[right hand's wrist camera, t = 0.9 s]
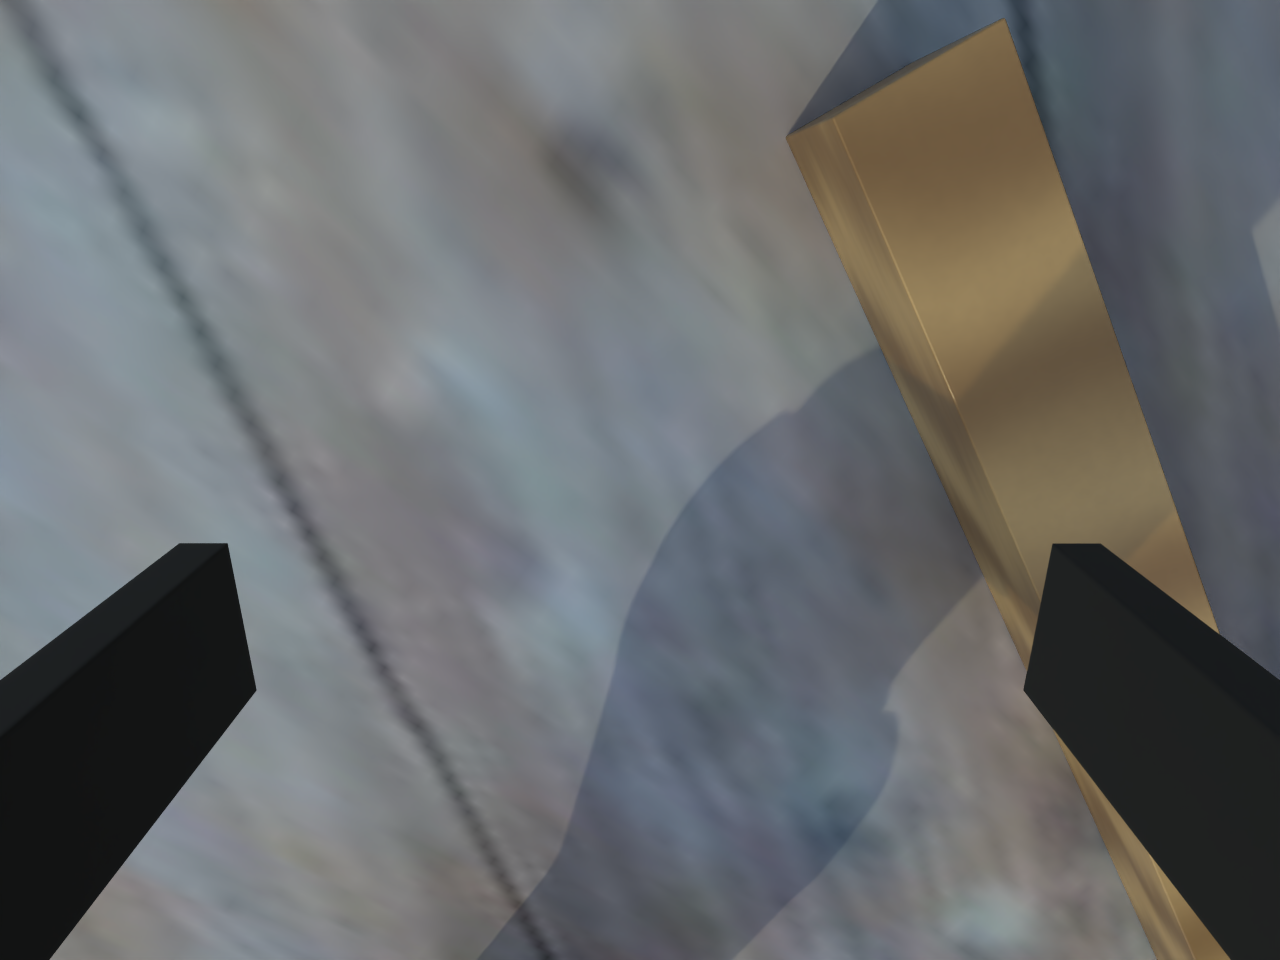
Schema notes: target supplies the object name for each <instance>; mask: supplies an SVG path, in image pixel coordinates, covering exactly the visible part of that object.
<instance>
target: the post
mask: <svg viewBox="0 0 1280 960" xmlns="http://www.w3.org/2000/svg"><path fill="white" fill-rule="evenodd" d="M786 139H787V142H788V144H789V146H790V148H791V151H792V153H793V155H794V157H795V159H796V162H797V164H798V166H799V168H800V170H801V173H802V175H803V177H804V179H805V182H806V184H807V186H808V188H809V190H810V193H811V195H812V197H813V199H814V201H815V204H816V206H817V208H818V210H819V212H820V215H821V217H822V219H823V221H824V224H825V226H826V228H827V230H828V232H829V235H830V237H831V239H832V241H833V243H834V246H835V248H836V250H837V252H838V255H839V257H840V259H841V261H842V263H843V266H844V268H845V270H846V272H847V274H848V277H849V279H850V281H851V283H852V285H853V288H854V290H855V292H856V294H857V297H858V299H859V301H860V303H861V305H862V308H863V310H864V312H865V314H866V316H867V319H868V321H869V323H870V325H871V328H872V330H873V332H874V334H875V336H876V339H877V341H878V343H879V345H880V347H881V350H882V352H883V354H884V356H885V358H886V361H887V363H888V365H889V367H890V370H891V372H892V374H893V376H894V378H895V381H896V383H897V385H898V387H899V389H900V392H901V394H902V396H903V398H904V401H905V403H906V405H907V407H908V409H909V412H910V414H911V416H912V418H913V420H914V423H915V425H916V427H917V429H918V431H919V434H920V436H921V438H922V440H923V443H924V445H925V447H926V449H927V451H928V454H929V456H930V458H931V460H932V462H933V465H934V467H935V469H936V471H937V474H938V476H939V478H940V480H941V482H942V485H943V487H944V489H945V491H946V493H947V496H948V498H949V500H950V502H951V504H952V507H953V509H954V511H955V513H956V516H957V518H958V520H959V522H960V524H961V527H962V529H963V531H964V533H965V535H966V538H967V540H968V542H969V544H970V547H971V549H972V551H973V553H974V555H975V558H976V560H977V562H978V564H979V566H980V569H981V571H982V573H983V575H984V577H985V580H986V582H987V584H988V586H989V589H990V591H991V593H992V595H993V597H994V600H995V602H996V604H997V606H998V608H999V611H1000V613H1001V615H1002V617H1003V620H1004V622H1005V624H1006V626H1007V628H1008V631H1009V633H1010V635H1011V637H1012V639H1013V642H1014V644H1015V646H1016V648H1017V650H1018V653H1019V655H1020V657H1021V659H1022V662H1023V664H1024V666H1025V668H1026V670H1028V665H1029V660H1030V655H1031V650H1032V645H1033V639H1034V634H1035V629H1036V624H1037V619H1038V614H1039V609H1040V604H1041V599H1042V594H1043V589H1044V584H1045V579H1046V574H1047V568H1048V563H1049V558H1050V553H1051V548H1052V543H1101V544H1102V545H1103V546H1105V547H1106V548H1107V549H1109V550H1110V551H1111V552H1112V553H1114V554H1115V555H1116V556H1118V557H1119V558H1120V559H1122V560H1123V561H1124V562H1126V563H1127V564H1128V565H1129V566H1131V567H1132V568H1133V569H1135V570H1136V571H1137V572H1139V573H1140V574H1141V575H1143V576H1144V577H1145V578H1146V579H1148V580H1149V581H1150V582H1152V583H1153V584H1154V585H1156V586H1157V587H1158V588H1160V589H1161V590H1162V591H1164V592H1165V593H1166V594H1167V595H1169V596H1170V597H1171V598H1173V599H1174V600H1175V601H1177V602H1178V603H1179V604H1181V605H1182V606H1183V607H1184V608H1186V609H1187V610H1188V611H1190V612H1191V613H1192V614H1194V615H1195V616H1196V617H1198V618H1199V619H1200V620H1201V621H1203V622H1204V623H1205V624H1207V625H1208V626H1209V627H1211V628H1212V629H1213V630H1215V631H1216V632H1217V633H1218V634H1220V633H1219V630H1218V627H1217V624H1216V621H1215V619H1214V616H1213V613H1212V610H1211V607H1210V604H1209V601H1208V599H1207V596H1206V593H1205V590H1204V587H1203V584H1202V581H1201V578H1200V576H1199V573H1198V570H1197V567H1196V564H1195V561H1194V558H1193V555H1192V553H1191V550H1190V547H1189V544H1188V541H1187V538H1186V535H1185V533H1184V530H1183V527H1182V524H1181V521H1180V518H1179V515H1178V512H1177V510H1176V507H1175V504H1174V501H1173V498H1172V495H1171V492H1170V490H1169V487H1168V484H1167V481H1166V478H1165V475H1164V472H1163V469H1162V467H1161V464H1160V461H1159V458H1158V455H1157V452H1156V449H1155V446H1154V444H1153V441H1152V438H1151V435H1150V432H1149V429H1148V426H1147V424H1146V421H1145V418H1144V415H1143V412H1142V409H1141V406H1140V403H1139V401H1138V398H1137V395H1136V392H1135V389H1134V386H1133V383H1132V381H1131V378H1130V375H1129V372H1128V369H1127V366H1126V363H1125V360H1124V358H1123V355H1122V352H1121V349H1120V346H1119V343H1118V340H1117V338H1116V335H1115V332H1114V329H1113V326H1112V323H1111V320H1110V317H1109V315H1108V312H1107V309H1106V306H1105V303H1104V300H1103V297H1102V294H1101V292H1100V289H1099V286H1098V283H1097V280H1096V277H1095V274H1094V272H1093V269H1092V266H1091V263H1090V260H1089V257H1088V254H1087V251H1086V249H1085V246H1084V243H1083V240H1082V237H1081V234H1080V231H1079V229H1078V226H1077V223H1076V220H1075V217H1074V214H1073V211H1072V208H1071V206H1070V203H1069V200H1068V197H1067V194H1066V191H1065V188H1064V186H1063V183H1062V180H1061V177H1060V174H1059V171H1058V168H1057V165H1056V163H1055V160H1054V157H1053V154H1052V151H1051V148H1050V145H1049V142H1048V140H1047V137H1046V134H1045V131H1044V128H1043V125H1042V122H1041V120H1040V117H1039V114H1038V111H1037V108H1036V105H1035V102H1034V99H1033V97H1032V94H1031V91H1030V88H1029V85H1028V82H1027V79H1026V77H1025V74H1024V71H1023V68H1022V65H1021V62H1020V59H1019V56H1018V54H1017V51H1016V48H1015V45H1014V42H1013V39H1012V36H1011V33H1010V31H1009V28H1008V25H1007V22H1006V20H1005V18H1003V19H1000V20H998V21H996V22H994V23H992V24H990V25H988V26H986V27H984V28H982V29H980V30H978V31H976V32H974V33H972V34H969V35H967V36H965V37H963V38H961V39H959V40H957V41H955V42H953V43H951V44H949V45H947V46H945V47H943V48H941V49H939V50H937V51H935V52H933V53H931V54H929V55H927V56H925V57H922V58H920V59H918V60H916V61H914V62H912V63H911V64H909V65H907V66H906V67H904V68H902V69H900V70H899V71H897V72H895V73H894V74H892V75H890V76H888V77H887V78H885V79H883V80H882V81H880V82H878V83H876V84H875V85H873V86H871V87H870V88H868V89H866V90H864V91H863V92H861V93H859V94H858V95H856V96H854V97H852V98H851V99H849V100H847V101H846V102H844V103H842V104H840V105H839V106H837V107H835V108H834V109H832V110H830V111H828V112H827V113H825V114H823V115H822V116H820V117H818V118H816V119H815V120H813V121H811V122H810V123H808V124H806V125H805V126H803V127H801V128H799V129H798V130H796V131H794V132H793V133H791V134H789V135H787V136H786ZM1053 730H1054V729H1053ZM1054 732H1055V731H1054ZM1055 735H1056V737H1057V739H1058V741H1059V743H1060V746H1061V748H1062V750H1063V752H1064V754H1065V757H1066V759H1067V761H1068V763H1069V766H1070V768H1071V770H1072V772H1073V774H1074V777H1075V779H1076V781H1077V783H1078V785H1079V788H1080V790H1081V792H1082V794H1083V796H1084V799H1085V801H1086V803H1087V805H1088V808H1089V810H1090V812H1091V814H1092V816H1093V819H1094V821H1095V823H1096V825H1097V827H1098V830H1099V832H1100V834H1101V836H1102V839H1103V841H1104V843H1105V845H1106V847H1107V850H1108V852H1109V854H1110V856H1111V858H1112V861H1113V863H1114V865H1115V867H1116V870H1117V872H1118V874H1119V876H1120V878H1121V881H1122V883H1123V885H1124V887H1125V889H1126V892H1127V894H1128V896H1129V898H1130V900H1131V903H1132V905H1133V907H1134V909H1135V912H1136V914H1137V916H1138V918H1139V920H1140V923H1141V925H1142V927H1143V929H1144V931H1145V934H1146V936H1147V938H1148V940H1149V943H1150V945H1151V947H1152V949H1153V951H1154V954H1155V956H1156V958H1157V960H1230V958H1229V957H1228V956H1227V954H1226V953H1225V952H1224V950H1223V949H1222V948H1221V947H1220V945H1219V944H1218V943H1217V941H1216V940H1215V939H1214V937H1213V936H1212V935H1211V934H1210V932H1209V931H1208V930H1207V928H1206V927H1205V926H1204V924H1203V923H1202V922H1201V921H1200V919H1199V918H1198V917H1197V915H1196V914H1195V913H1194V911H1193V910H1192V909H1191V908H1190V906H1189V905H1188V904H1187V902H1186V901H1185V900H1184V898H1183V897H1182V896H1181V894H1180V893H1179V892H1178V891H1177V889H1176V888H1175V887H1174V885H1173V884H1172V883H1171V881H1170V880H1169V879H1168V878H1167V876H1166V875H1165V874H1164V872H1163V871H1162V870H1161V868H1160V867H1159V866H1158V865H1157V863H1156V862H1155V861H1154V859H1153V858H1152V857H1151V855H1150V854H1149V853H1148V852H1147V850H1146V849H1145V848H1144V846H1143V845H1142V844H1141V842H1140V841H1139V840H1138V839H1137V837H1136V836H1135V835H1134V833H1133V832H1132V831H1131V829H1130V828H1129V827H1128V826H1127V824H1126V823H1125V822H1124V820H1123V819H1122V818H1121V816H1120V815H1119V814H1118V813H1117V811H1116V810H1115V809H1114V807H1113V806H1112V805H1111V803H1110V802H1109V801H1108V800H1107V798H1106V797H1105V796H1104V794H1103V793H1102V792H1101V790H1100V789H1099V788H1098V787H1097V785H1096V784H1095V783H1094V781H1093V780H1092V779H1091V777H1090V776H1089V775H1088V774H1087V772H1086V771H1085V770H1084V768H1083V767H1082V766H1081V764H1080V763H1079V762H1078V761H1077V759H1076V758H1075V757H1074V755H1073V754H1072V753H1071V751H1070V750H1069V749H1068V748H1067V746H1066V745H1065V744H1064V742H1063V741H1062V740H1061V738H1060V737H1059V736H1058V735H1057V733H1056V732H1055Z"/></svg>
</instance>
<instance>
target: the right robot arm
mask: <svg viewBox="0 0 1280 960" xmlns="http://www.w3.org/2000/svg"><path fill="white" fill-rule="evenodd" d="M255 692H256V685H255V680H254V675H253V670H252V665H251V660H250V655H249V650H248V645H247V639H246V634H245V629H244V624H243V619H242V614H241V609H240V604H239V599H238V594H237V589H236V584H235V579H234V574H233V568H232V563H231V558H230V553H229V548H228V543H179V544H178V545H177V546H175V547H174V548H173V549H171V550H170V551H169V552H168V553H166V554H165V555H164V556H162V557H161V558H160V559H158V560H157V561H156V562H154V563H153V564H152V565H151V566H149V567H148V568H147V569H145V570H144V571H143V572H141V573H140V574H139V575H137V576H136V577H135V578H134V579H132V580H131V581H130V582H128V583H127V584H126V585H124V586H123V587H122V588H120V589H119V590H118V591H116V592H115V593H114V594H113V595H111V596H110V597H109V598H107V599H106V600H105V601H103V602H102V603H101V604H99V605H98V606H97V607H96V608H94V609H93V610H92V611H90V612H89V613H88V614H86V615H85V616H84V617H82V618H81V619H80V620H79V621H77V622H76V623H75V624H73V625H72V626H71V627H69V628H68V629H67V630H65V631H64V632H63V633H62V634H60V635H59V636H58V637H56V638H55V639H54V640H52V641H51V642H50V643H48V644H47V645H46V646H45V647H43V648H42V649H41V650H39V651H38V652H37V653H35V654H34V655H33V656H31V657H30V658H29V659H28V660H26V661H25V662H24V663H22V664H21V665H20V666H18V667H17V668H16V669H14V670H13V671H12V672H10V673H9V674H8V675H7V676H5V677H4V678H3V679H1V680H0V960H50V958H51V957H52V956H53V954H54V953H55V952H56V950H57V949H58V948H59V947H60V945H61V944H62V943H63V941H64V940H65V939H66V937H67V936H68V935H69V934H70V932H71V931H72V930H73V928H74V927H75V926H76V924H77V923H78V922H79V921H80V919H81V918H82V917H83V915H84V914H85V913H86V911H87V910H88V909H89V908H90V906H91V905H92V904H93V902H94V901H95V900H96V898H97V897H98V896H99V894H100V893H101V892H102V891H103V889H104V888H105V887H106V885H107V884H108V883H109V881H110V880H111V879H112V878H113V876H114V875H115V874H116V872H117V871H118V870H119V868H120V867H121V866H122V865H123V863H124V862H125V861H126V859H127V858H128V857H129V855H130V854H131V853H132V852H133V850H134V849H135V848H136V846H137V845H138V844H139V842H140V841H141V840H142V839H143V837H144V836H145V835H146V833H147V832H148V831H149V829H150V828H151V827H152V826H153V824H154V823H155V822H156V820H157V819H158V818H159V816H160V815H161V814H162V813H163V811H164V810H165V809H166V807H167V806H168V805H169V803H170V802H171V801H172V800H173V798H174V797H175V796H176V794H177V793H178V792H179V790H180V789H181V788H182V787H183V785H184V784H185V783H186V781H187V780H188V779H189V777H190V776H191V775H192V774H193V772H194V771H195V770H196V768H197V767H198V766H199V764H200V763H201V762H202V761H203V759H204V758H205V757H206V755H207V754H208V753H209V751H210V750H211V749H212V748H213V746H214V745H215V744H216V742H217V741H218V740H219V738H220V737H221V736H222V735H223V733H224V732H225V731H226V729H227V728H228V727H229V725H230V724H231V723H232V721H233V720H234V719H235V718H236V716H237V715H238V714H239V712H240V711H241V710H242V708H243V707H244V706H245V705H246V703H247V702H248V701H249V699H250V698H251V697H252V695H253V694H254V693H255ZM1024 692H1025V693H1026V694H1027V695H1028V697H1029V698H1030V699H1031V701H1032V702H1033V703H1034V705H1035V706H1036V707H1037V708H1038V710H1039V711H1040V712H1041V714H1042V715H1043V716H1044V718H1045V719H1046V720H1047V722H1048V723H1049V724H1050V725H1051V727H1052V728H1053V729H1054V731H1055V732H1056V733H1057V735H1058V736H1059V737H1060V738H1061V740H1062V741H1063V742H1064V744H1065V745H1066V746H1067V748H1068V749H1069V750H1070V751H1071V753H1072V754H1073V755H1074V757H1075V758H1076V759H1077V761H1078V762H1079V763H1080V764H1081V766H1082V767H1083V768H1084V770H1085V771H1086V772H1087V774H1088V775H1089V776H1090V777H1091V779H1092V780H1093V781H1094V783H1095V784H1096V785H1097V787H1098V788H1099V789H1100V790H1101V792H1102V793H1103V794H1104V796H1105V797H1106V798H1107V800H1108V801H1109V802H1110V803H1111V805H1112V806H1113V807H1114V809H1115V810H1116V811H1117V813H1118V814H1119V815H1120V816H1121V818H1122V819H1123V820H1124V822H1125V823H1126V824H1127V826H1128V827H1129V828H1130V829H1131V831H1132V832H1133V833H1134V835H1135V836H1136V837H1137V839H1138V840H1139V841H1140V842H1141V844H1142V845H1143V846H1144V848H1145V849H1146V850H1147V852H1148V853H1149V854H1150V855H1151V857H1152V858H1153V859H1154V861H1155V862H1156V863H1157V865H1158V866H1159V867H1160V868H1161V870H1162V871H1163V872H1164V874H1165V875H1166V876H1167V878H1168V879H1169V880H1170V881H1171V883H1172V884H1173V885H1174V887H1175V888H1176V889H1177V891H1178V892H1179V893H1180V894H1181V896H1182V897H1183V898H1184V900H1185V901H1186V902H1187V904H1188V905H1189V906H1190V908H1191V909H1192V910H1193V911H1194V913H1195V914H1196V915H1197V917H1198V918H1199V919H1200V921H1201V922H1202V923H1203V924H1204V926H1205V927H1206V928H1207V930H1208V931H1209V932H1210V934H1211V935H1212V936H1213V937H1214V939H1215V940H1216V941H1217V943H1218V944H1219V945H1220V947H1221V948H1222V949H1223V950H1224V952H1225V953H1226V954H1227V956H1228V957H1229V958H1230V960H1280V680H1279V679H1277V678H1276V677H1275V676H1273V675H1272V674H1271V673H1270V672H1268V671H1267V670H1266V669H1264V668H1263V667H1262V666H1260V665H1259V664H1258V663H1256V662H1255V661H1254V660H1252V659H1251V658H1250V657H1249V656H1247V655H1246V654H1245V653H1243V652H1242V651H1241V650H1239V649H1238V648H1237V647H1235V646H1234V645H1233V644H1232V643H1230V642H1229V641H1228V640H1226V639H1225V638H1224V637H1222V636H1221V635H1220V634H1218V633H1217V632H1216V631H1215V630H1213V629H1212V628H1211V627H1209V626H1208V625H1207V624H1205V623H1204V622H1203V621H1201V620H1200V619H1199V618H1198V617H1196V616H1195V615H1194V614H1192V613H1191V612H1190V611H1188V610H1187V609H1186V608H1184V607H1183V606H1182V605H1181V604H1179V603H1178V602H1177V601H1175V600H1174V599H1173V598H1171V597H1170V596H1169V595H1167V594H1166V593H1165V592H1164V591H1162V590H1161V589H1160V588H1158V587H1157V586H1156V585H1154V584H1153V583H1152V582H1150V581H1149V580H1148V579H1146V578H1145V577H1144V576H1143V575H1141V574H1140V573H1139V572H1137V571H1136V570H1135V569H1133V568H1132V567H1131V566H1129V565H1128V564H1127V563H1126V562H1124V561H1123V560H1122V559H1120V558H1119V557H1118V556H1116V555H1115V554H1114V553H1112V552H1111V551H1110V550H1109V549H1107V548H1106V547H1105V546H1103V545H1102V544H1101V543H1052V548H1051V553H1050V558H1049V563H1048V568H1047V574H1046V579H1045V584H1044V589H1043V594H1042V599H1041V604H1040V609H1039V614H1038V619H1037V624H1036V629H1035V634H1034V639H1033V645H1032V650H1031V655H1030V660H1029V665H1028V670H1027V675H1026V680H1025V685H1024Z"/></svg>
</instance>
